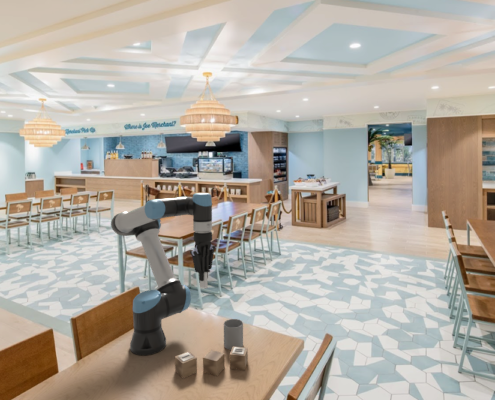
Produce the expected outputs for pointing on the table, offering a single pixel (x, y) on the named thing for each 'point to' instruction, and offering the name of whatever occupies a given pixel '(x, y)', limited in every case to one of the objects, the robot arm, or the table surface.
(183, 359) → the numbered block
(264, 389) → the table surface
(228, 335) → the cup
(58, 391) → the table surface
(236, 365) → the numbered block
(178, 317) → the table surface
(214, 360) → the plain block
